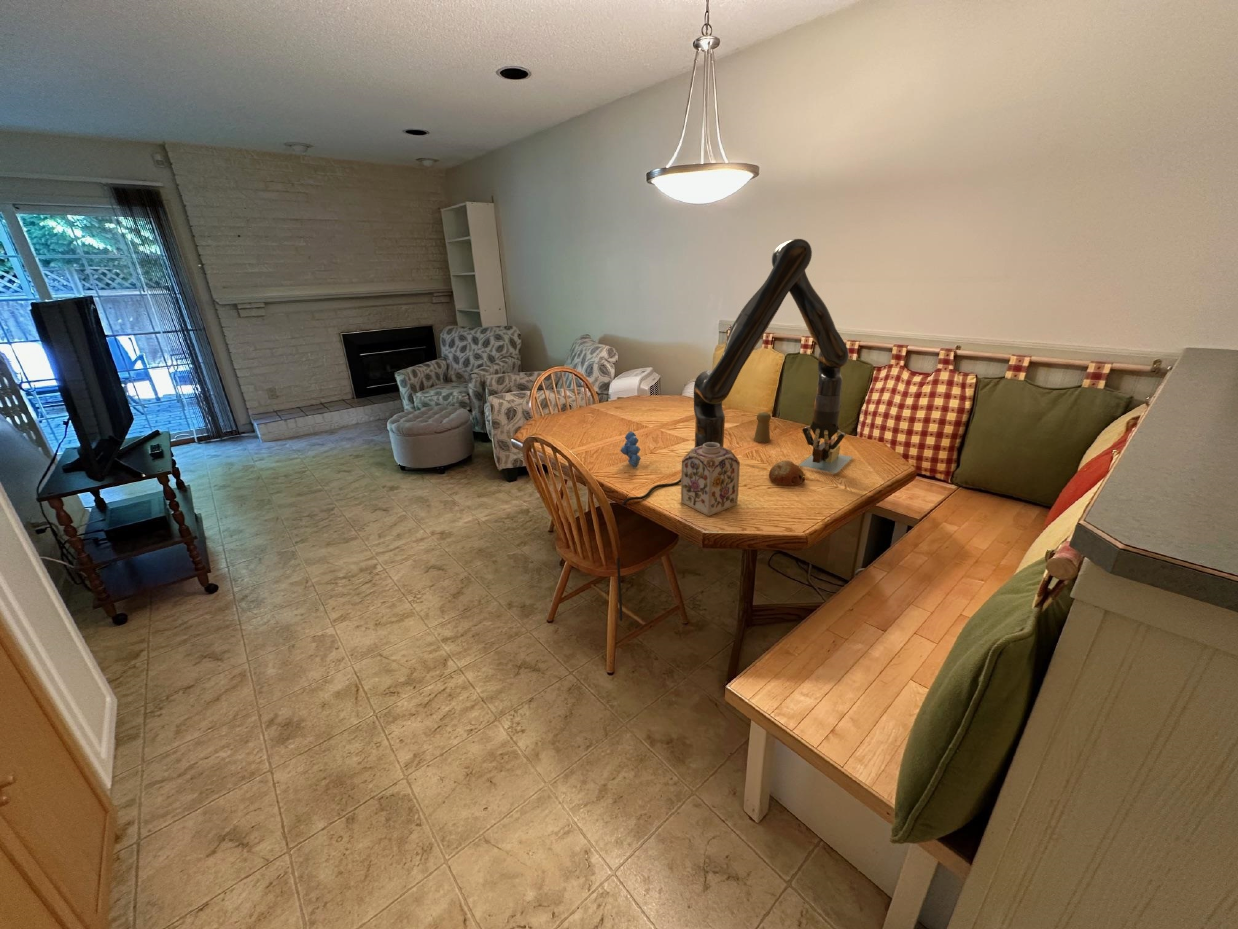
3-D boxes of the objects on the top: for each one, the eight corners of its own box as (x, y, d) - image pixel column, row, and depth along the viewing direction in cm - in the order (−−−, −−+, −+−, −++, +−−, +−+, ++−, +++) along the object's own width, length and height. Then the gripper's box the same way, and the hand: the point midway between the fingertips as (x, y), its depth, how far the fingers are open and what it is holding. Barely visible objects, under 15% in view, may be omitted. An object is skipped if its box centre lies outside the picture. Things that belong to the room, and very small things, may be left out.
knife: (819, 463, 154) (821, 450, 152) (812, 461, 155) (814, 448, 153) (836, 448, 165) (838, 436, 164) (829, 447, 167) (831, 435, 165)
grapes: (616, 461, 171) (615, 428, 166) (634, 458, 172) (634, 426, 168) (625, 472, 160) (624, 438, 156) (644, 470, 161) (643, 436, 157)
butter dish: (835, 476, 152) (836, 473, 151) (798, 468, 159) (798, 465, 159) (852, 459, 164) (853, 457, 164) (817, 452, 172) (817, 450, 171)
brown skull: (783, 483, 157) (775, 460, 156) (812, 478, 149) (804, 453, 149) (768, 492, 150) (760, 468, 150) (797, 487, 143) (789, 462, 142)
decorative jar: (738, 505, 135) (742, 445, 128) (709, 517, 129) (711, 455, 122) (708, 491, 144) (710, 434, 137) (679, 502, 138) (680, 443, 131)
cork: (753, 442, 185) (755, 414, 181) (754, 437, 190) (756, 410, 186) (769, 443, 183) (772, 415, 179) (770, 438, 188) (772, 411, 184)
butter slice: (831, 463, 160) (832, 451, 158) (825, 462, 161) (827, 450, 159) (838, 456, 165) (840, 445, 164) (833, 455, 166) (834, 444, 165)
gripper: (800, 407, 152) (795, 458, 159) (846, 413, 144) (838, 466, 150) (809, 402, 157) (803, 451, 164) (853, 408, 149) (846, 459, 155)
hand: (820, 458), depth 157 cm, fingers closed on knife, 2 cm apart
